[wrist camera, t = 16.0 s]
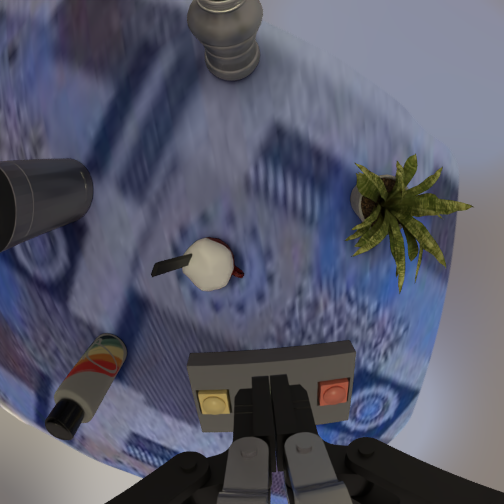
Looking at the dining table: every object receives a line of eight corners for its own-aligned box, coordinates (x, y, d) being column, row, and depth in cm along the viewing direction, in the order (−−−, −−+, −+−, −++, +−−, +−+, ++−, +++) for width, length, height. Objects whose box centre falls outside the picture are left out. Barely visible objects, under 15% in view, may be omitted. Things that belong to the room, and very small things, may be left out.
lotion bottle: (115, 328, 46) (56, 412, 26) (134, 357, 47) (87, 448, 28) (89, 337, 46) (28, 416, 27) (107, 365, 48) (57, 449, 28)
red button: (316, 394, 48) (320, 408, 44) (317, 374, 47) (321, 388, 43) (341, 390, 48) (347, 404, 44) (343, 370, 47) (349, 384, 43)
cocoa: (250, 261, 44) (257, 297, 32) (216, 292, 44) (213, 336, 33) (199, 211, 41) (187, 230, 30) (166, 244, 42) (144, 274, 31)
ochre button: (204, 402, 48) (202, 416, 45) (200, 382, 47) (197, 396, 43) (230, 401, 48) (229, 416, 45) (227, 381, 47) (226, 396, 43)
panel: (204, 418, 50) (202, 432, 47) (190, 353, 47) (186, 366, 43) (343, 406, 50) (348, 419, 47) (349, 339, 46) (355, 352, 43)
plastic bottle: (268, 69, 36) (285, -5, 17) (222, 94, 37) (199, 34, 18) (243, 32, 35) (240, -56, 16) (197, 56, 36) (160, -21, 17)
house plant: (287, 219, 42) (311, 253, 26) (336, 126, 38) (387, 105, 23) (375, 266, 43) (432, 316, 28) (420, 180, 40) (495, 193, 25)
